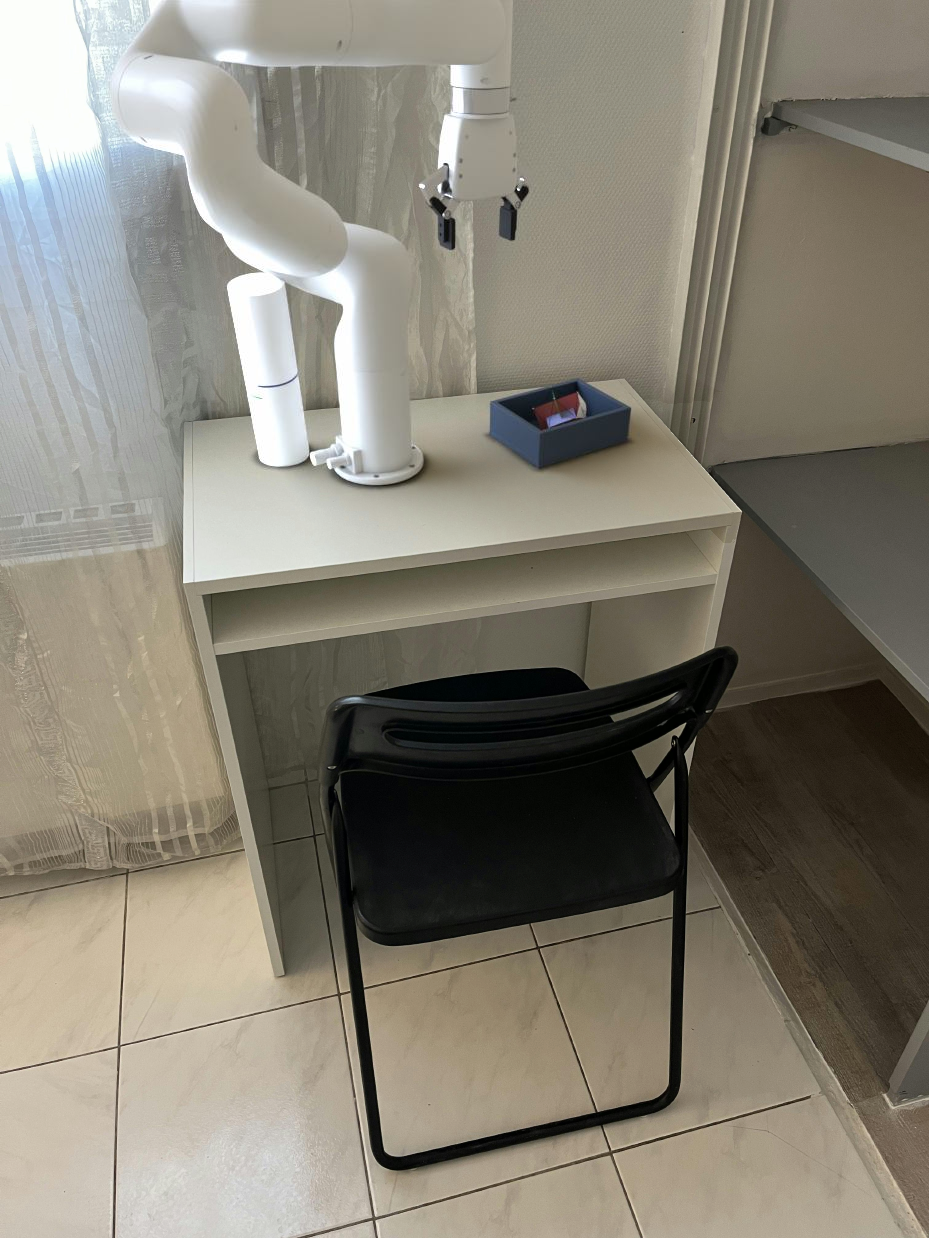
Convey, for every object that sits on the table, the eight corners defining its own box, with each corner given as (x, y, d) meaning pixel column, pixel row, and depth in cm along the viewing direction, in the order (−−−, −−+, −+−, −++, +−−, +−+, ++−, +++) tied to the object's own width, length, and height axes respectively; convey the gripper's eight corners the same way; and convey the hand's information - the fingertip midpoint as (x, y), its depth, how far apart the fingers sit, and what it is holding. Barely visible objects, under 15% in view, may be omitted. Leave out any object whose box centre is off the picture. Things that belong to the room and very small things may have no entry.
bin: (538, 468, 131) (539, 433, 128) (489, 434, 139) (489, 401, 136) (627, 441, 138) (631, 407, 134) (575, 410, 146) (578, 378, 143)
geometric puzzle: (525, 430, 134) (561, 387, 130) (521, 409, 139) (555, 368, 136) (563, 456, 137) (599, 415, 133) (557, 435, 142) (592, 395, 138)
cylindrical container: (303, 469, 132) (276, 296, 115) (253, 467, 132) (220, 295, 115) (314, 442, 137) (290, 273, 120) (266, 440, 137) (236, 272, 121)
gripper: (520, 94, 125) (514, 229, 135) (406, 102, 117) (409, 245, 128) (552, 101, 120) (544, 241, 130) (435, 111, 112) (436, 258, 122)
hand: (477, 243), depth 129 cm, fingers open, 9 cm apart
